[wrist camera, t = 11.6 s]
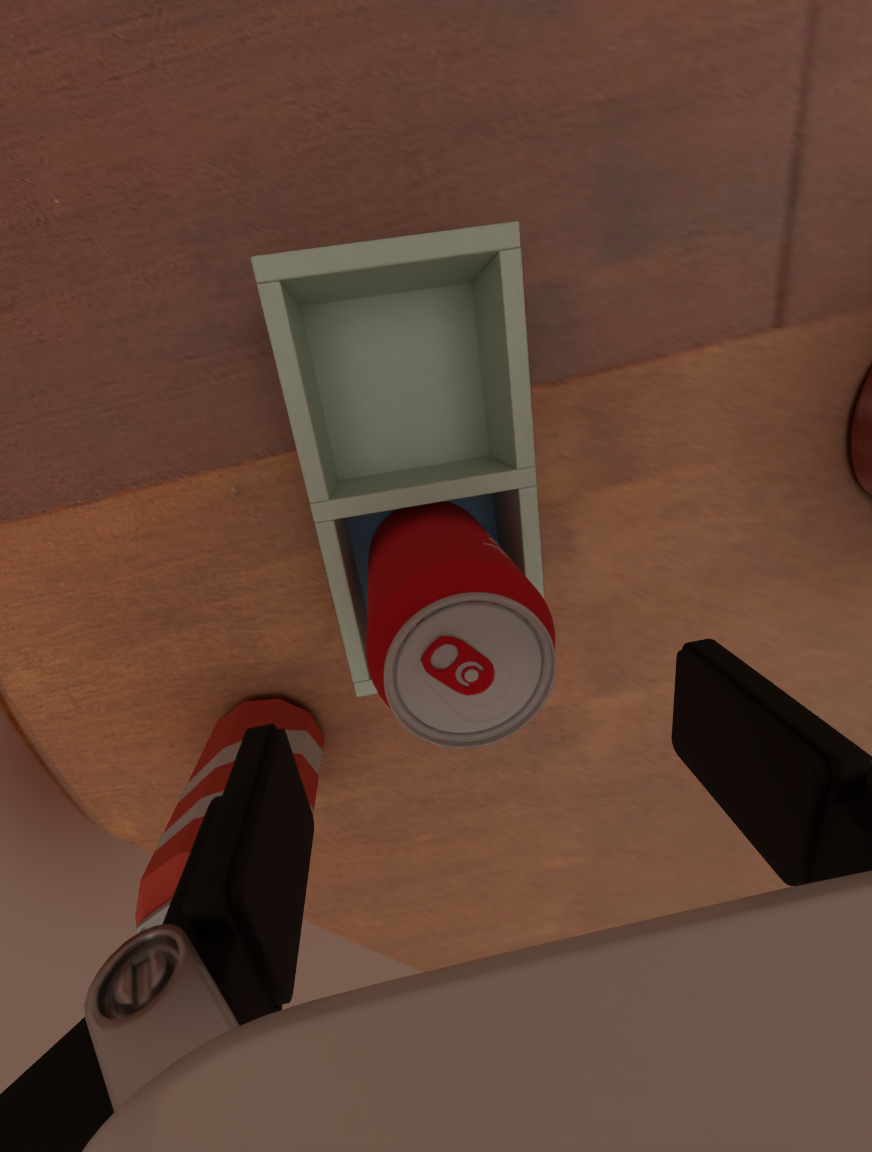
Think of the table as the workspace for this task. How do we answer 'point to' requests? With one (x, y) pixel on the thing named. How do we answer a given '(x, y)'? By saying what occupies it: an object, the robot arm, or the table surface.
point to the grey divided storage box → (405, 394)
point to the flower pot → (863, 437)
